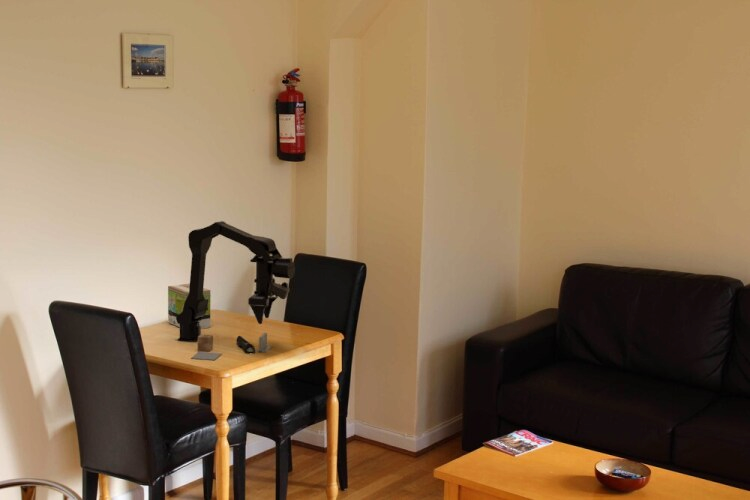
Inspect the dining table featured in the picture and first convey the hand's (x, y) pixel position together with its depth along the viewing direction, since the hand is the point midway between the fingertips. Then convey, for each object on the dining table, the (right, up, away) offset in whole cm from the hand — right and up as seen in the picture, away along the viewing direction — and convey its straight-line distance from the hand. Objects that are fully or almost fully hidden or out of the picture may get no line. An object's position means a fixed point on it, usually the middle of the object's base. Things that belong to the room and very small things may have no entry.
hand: (263, 320), depth 318 cm
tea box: (-32, -5, +33) cm, 46 cm away
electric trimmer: (-7, -10, +2) cm, 12 cm away
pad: (-18, -11, -10) cm, 23 cm away
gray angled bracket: (0, -10, +1) cm, 10 cm away
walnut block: (-20, -10, -2) cm, 22 cm away
